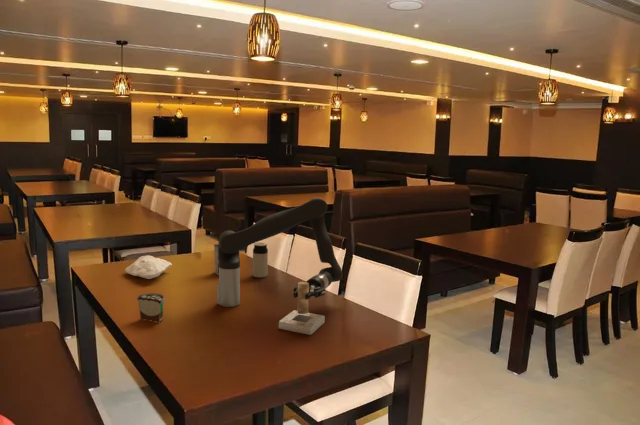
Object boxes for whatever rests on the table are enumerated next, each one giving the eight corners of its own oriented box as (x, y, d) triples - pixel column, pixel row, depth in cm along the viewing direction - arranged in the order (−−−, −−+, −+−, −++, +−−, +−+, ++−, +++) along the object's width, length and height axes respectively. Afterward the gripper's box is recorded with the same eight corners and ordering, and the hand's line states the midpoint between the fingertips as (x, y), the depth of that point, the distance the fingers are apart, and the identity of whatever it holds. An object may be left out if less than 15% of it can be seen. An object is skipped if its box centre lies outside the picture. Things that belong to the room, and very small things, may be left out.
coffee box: (230, 270, 269) (230, 242, 266) (233, 273, 263) (233, 245, 261) (214, 272, 265) (214, 244, 262) (217, 275, 259) (217, 246, 256)
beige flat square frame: (278, 328, 190) (278, 321, 189) (294, 316, 203) (294, 310, 202) (310, 334, 185) (310, 327, 184) (324, 322, 197) (324, 315, 197)
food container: (172, 318, 197) (171, 295, 195) (162, 323, 191) (162, 299, 190) (147, 313, 201) (146, 291, 199) (137, 318, 195) (136, 295, 194)
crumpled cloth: (166, 262, 277) (163, 247, 275) (181, 278, 247) (178, 261, 245) (123, 273, 266) (120, 257, 264) (134, 290, 236) (130, 273, 234)
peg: (295, 313, 192) (296, 284, 190) (300, 309, 196) (300, 281, 194) (305, 314, 190) (306, 285, 188) (310, 311, 194) (310, 282, 192)
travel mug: (264, 278, 256) (265, 245, 253) (250, 277, 258) (251, 244, 255) (269, 274, 264) (269, 242, 261) (255, 273, 265) (255, 241, 263)
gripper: (302, 273, 207) (284, 284, 191) (332, 278, 201) (316, 289, 186) (301, 290, 208) (284, 302, 192) (332, 295, 203) (316, 308, 187)
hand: (300, 296), depth 189 cm, fingers closed on peg, 4 cm apart
